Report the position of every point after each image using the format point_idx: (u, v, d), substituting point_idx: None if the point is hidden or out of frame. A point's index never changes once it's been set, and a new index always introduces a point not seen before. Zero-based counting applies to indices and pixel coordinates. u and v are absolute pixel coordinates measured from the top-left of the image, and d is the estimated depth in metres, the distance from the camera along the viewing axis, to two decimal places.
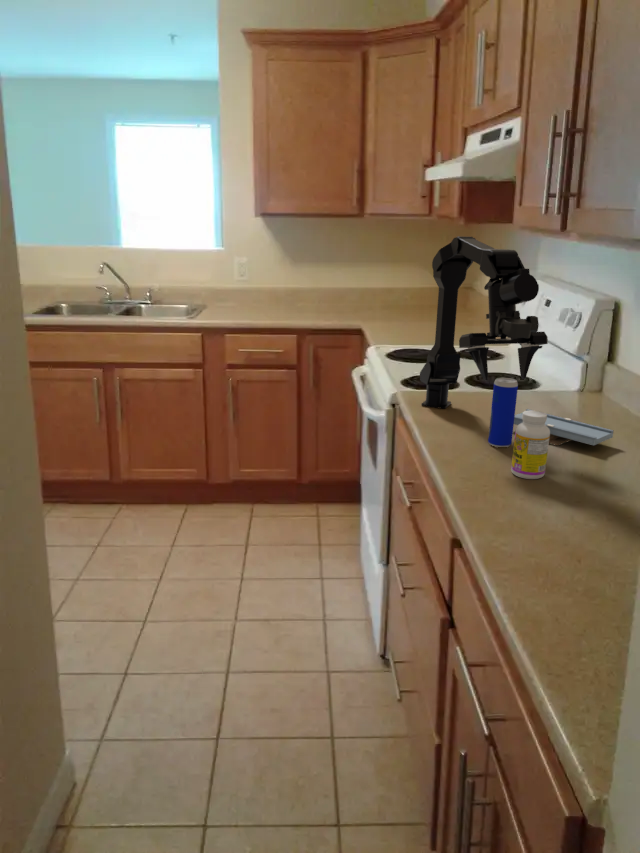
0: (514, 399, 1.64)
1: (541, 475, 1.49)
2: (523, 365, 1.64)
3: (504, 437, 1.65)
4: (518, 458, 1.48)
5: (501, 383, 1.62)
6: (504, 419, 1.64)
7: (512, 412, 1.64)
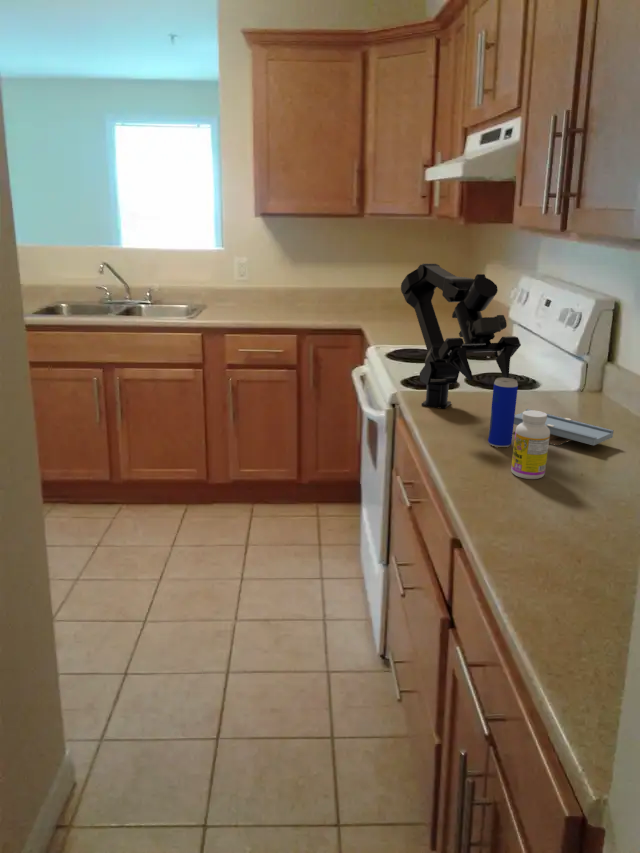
0: (514, 399, 1.64)
1: (541, 475, 1.49)
2: (504, 367, 1.74)
3: (504, 437, 1.65)
4: (518, 458, 1.48)
5: (501, 383, 1.62)
6: (504, 419, 1.64)
7: (512, 412, 1.64)
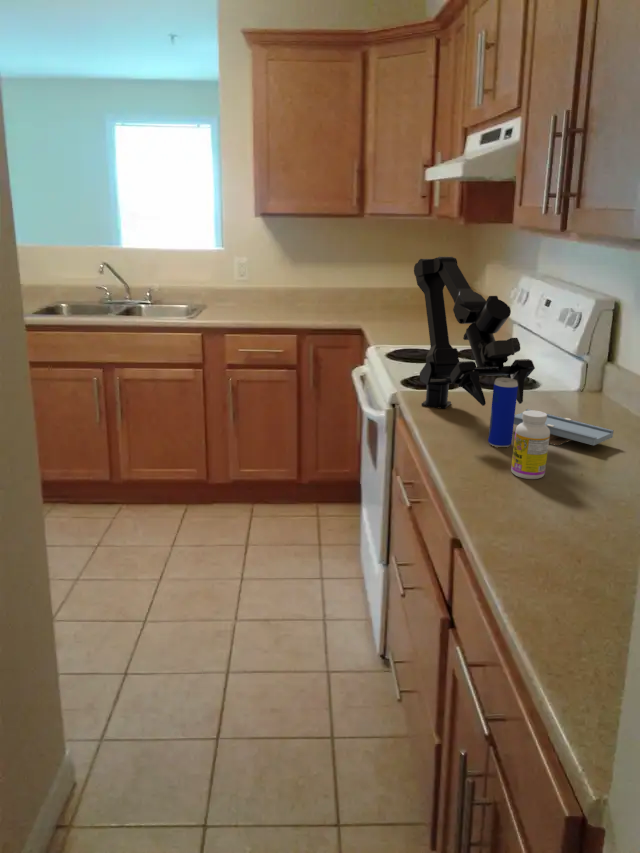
0: (514, 399, 1.64)
1: (541, 475, 1.49)
2: (517, 391, 1.69)
3: (504, 437, 1.65)
4: (518, 458, 1.48)
5: (501, 383, 1.62)
6: (504, 419, 1.64)
7: (512, 412, 1.64)
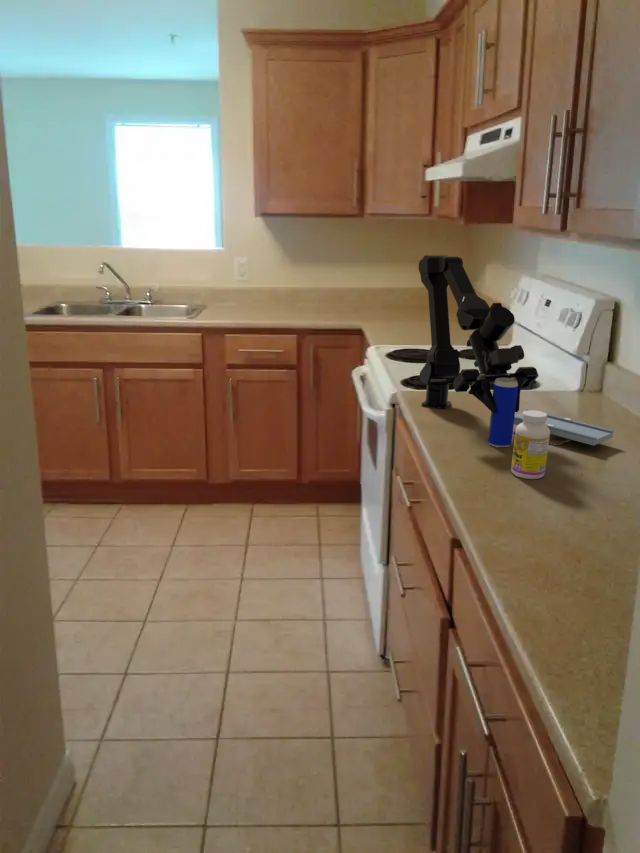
0: (514, 399, 1.64)
1: (541, 475, 1.49)
2: None
3: (504, 437, 1.65)
4: (518, 458, 1.48)
5: (501, 383, 1.62)
6: (504, 419, 1.64)
7: (512, 412, 1.64)
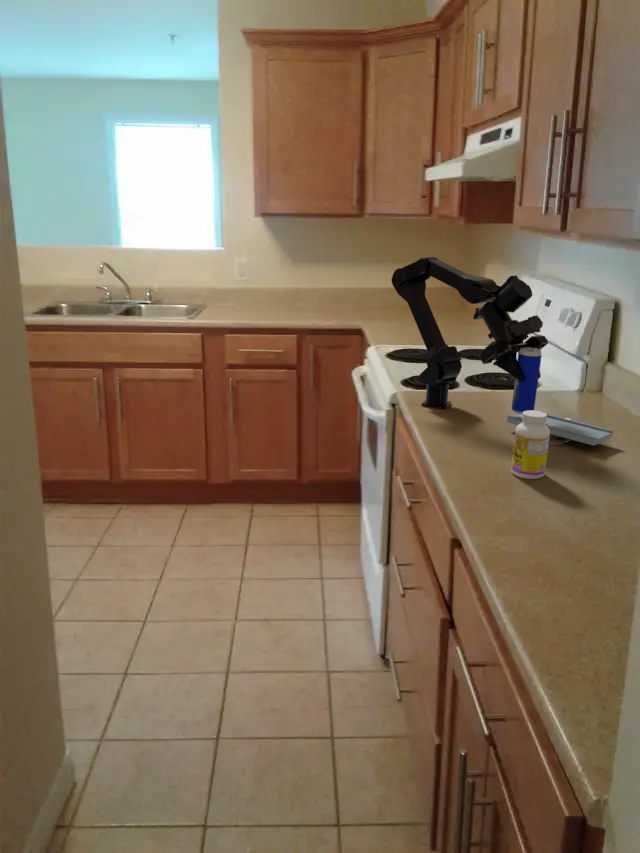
0: (539, 367, 1.72)
1: (541, 475, 1.49)
2: None
3: (531, 404, 1.74)
4: (518, 458, 1.48)
5: (529, 353, 1.70)
6: (532, 387, 1.73)
7: (537, 379, 1.73)
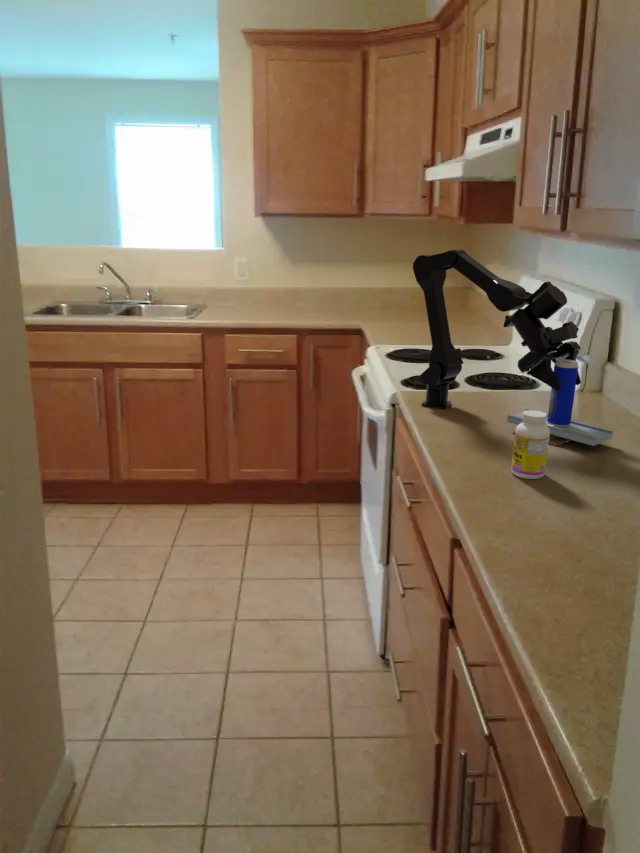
0: None
1: (541, 475, 1.49)
2: None
3: (569, 417, 1.71)
4: (518, 458, 1.48)
5: (567, 365, 1.67)
6: (570, 399, 1.70)
7: (574, 391, 1.70)
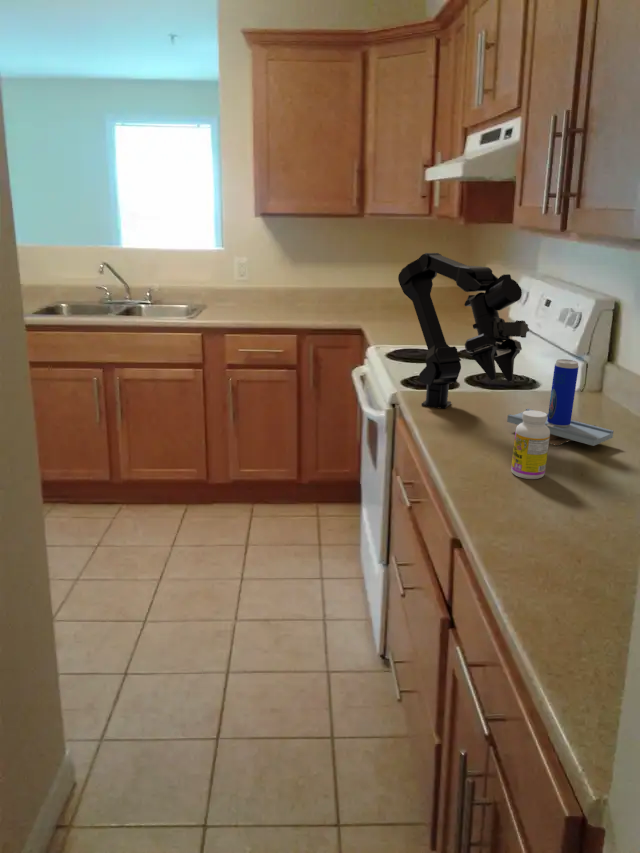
0: (576, 379, 1.70)
1: (541, 475, 1.49)
2: (508, 369, 1.79)
3: (569, 417, 1.71)
4: (518, 458, 1.48)
5: (568, 365, 1.67)
6: (570, 399, 1.70)
7: (574, 391, 1.70)
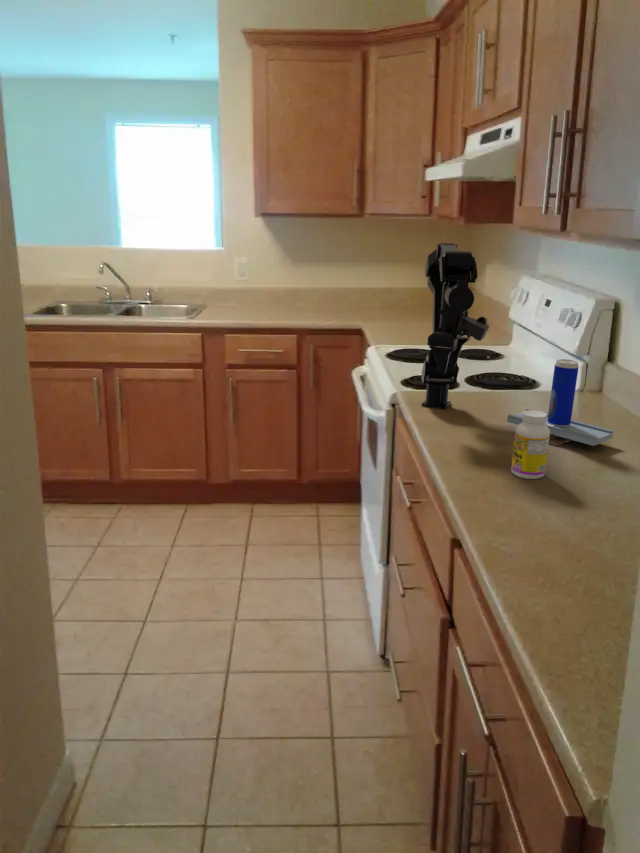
0: (576, 379, 1.70)
1: (541, 475, 1.49)
2: (454, 355, 1.84)
3: (569, 417, 1.71)
4: (518, 458, 1.48)
5: (568, 365, 1.67)
6: (570, 399, 1.70)
7: (574, 391, 1.70)
